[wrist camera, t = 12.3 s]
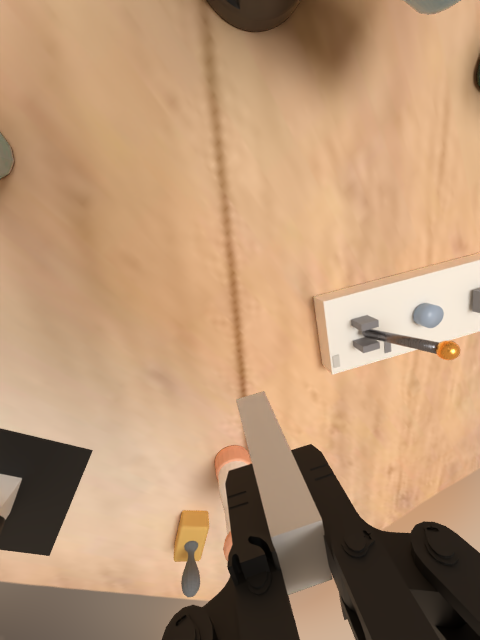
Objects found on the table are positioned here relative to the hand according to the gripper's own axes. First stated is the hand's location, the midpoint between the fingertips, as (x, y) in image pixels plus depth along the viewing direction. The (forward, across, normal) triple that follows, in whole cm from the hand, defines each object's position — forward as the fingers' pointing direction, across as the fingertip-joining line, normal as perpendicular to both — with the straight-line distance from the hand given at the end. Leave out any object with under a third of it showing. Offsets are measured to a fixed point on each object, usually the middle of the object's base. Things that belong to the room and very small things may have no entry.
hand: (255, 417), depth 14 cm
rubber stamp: (+33, -18, -50) cm, 62 cm away
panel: (+32, +35, -12) cm, 49 cm away
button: (+28, +35, -12) cm, 46 cm away
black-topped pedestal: (+33, -48, -26) cm, 64 cm away
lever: (+28, +23, -12) cm, 38 cm away
